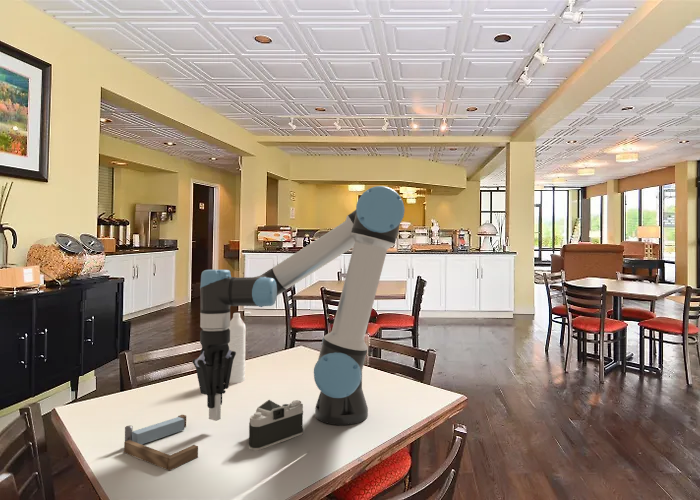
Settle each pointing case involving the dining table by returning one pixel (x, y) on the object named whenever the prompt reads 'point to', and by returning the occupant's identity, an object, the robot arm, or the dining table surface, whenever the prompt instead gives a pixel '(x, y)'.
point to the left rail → (182, 457)
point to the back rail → (146, 454)
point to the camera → (275, 424)
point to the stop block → (184, 419)
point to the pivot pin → (128, 433)
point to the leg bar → (158, 430)
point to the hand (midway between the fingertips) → (214, 418)
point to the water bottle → (237, 347)
